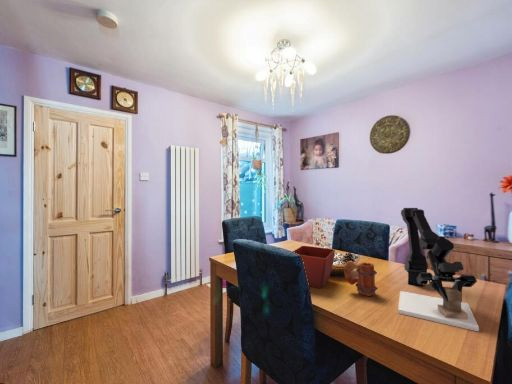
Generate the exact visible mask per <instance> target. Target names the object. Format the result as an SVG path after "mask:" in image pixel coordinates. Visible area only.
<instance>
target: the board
mask: <svg viewBox="0 0 512 384" xmlns="http://www.w3.org/2000/svg"><path fill="white" fill-rule="evenodd" d="M399 292H400V293H399V298H398V299H399V300H398V308H397V314H400V315H404V316H405V315H406V316H409V317H413V318H417V319H422V320H427V321H430V322H434V323H435V322H436V323H439V324H443V325H449V326H453V327H458V328H462V329H467V330H471V331H474V332H475V331H476V332H479V331H480V326H479V325H478V322H477V320H476V318H475V315H474V314H473V312H472V310H471V307H470V305H469V303H467V302H463V301H462V302H461V309H462V310H463V311H465V312H466V313H467V314H468V319H457V318H446V317H445V316H444V315H443V314H442V313H441V312H440V311H439V310H438V305H443V298H442V297H435V296H429V295H425V294H418V293H414V292H407V291H403V290H399Z"/></svg>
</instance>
